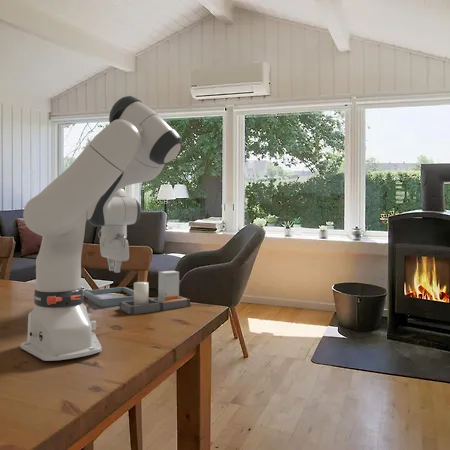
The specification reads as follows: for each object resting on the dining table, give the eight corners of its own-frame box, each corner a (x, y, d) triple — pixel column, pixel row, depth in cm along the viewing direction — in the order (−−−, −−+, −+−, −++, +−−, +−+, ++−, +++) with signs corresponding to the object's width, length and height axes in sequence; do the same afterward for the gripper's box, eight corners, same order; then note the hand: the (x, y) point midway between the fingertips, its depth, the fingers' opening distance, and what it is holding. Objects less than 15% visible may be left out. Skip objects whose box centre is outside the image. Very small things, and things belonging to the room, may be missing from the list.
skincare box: (163, 308, 153) (163, 273, 152) (157, 306, 156) (157, 271, 156) (179, 306, 156) (179, 271, 156) (173, 304, 160) (173, 270, 159)
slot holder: (190, 306, 156) (190, 298, 156) (130, 314, 144) (130, 305, 144) (177, 302, 164) (177, 294, 164) (119, 309, 152) (119, 300, 152)
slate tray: (145, 303, 161) (145, 294, 161) (101, 308, 153) (101, 299, 152) (124, 294, 178) (124, 286, 178) (83, 298, 169) (83, 290, 169)
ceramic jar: (151, 310, 150) (150, 283, 150) (137, 312, 148) (137, 284, 147) (144, 307, 154) (144, 281, 154) (131, 309, 152) (131, 282, 151)
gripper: (133, 234, 158) (133, 274, 158) (113, 231, 175) (113, 267, 175) (115, 234, 154) (116, 275, 155) (96, 232, 171) (97, 269, 172)
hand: (114, 271), depth 165 cm, fingers open, 4 cm apart
